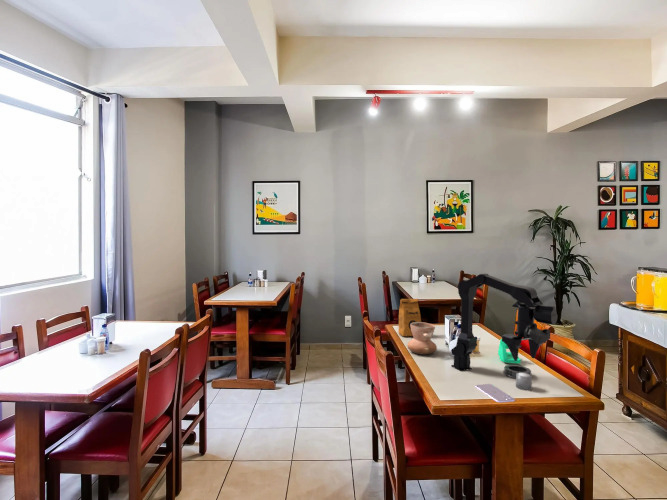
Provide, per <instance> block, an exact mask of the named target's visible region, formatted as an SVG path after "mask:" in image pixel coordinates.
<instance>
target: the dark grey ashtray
mask: <svg viewBox="0 0 667 500" xmlns="http://www.w3.org/2000/svg"><path fill="white" fill-rule="evenodd" d="M502 371H503V372H502V373H503V375H504V376H506V377H507V378H511V379H515V380H516V374H517V373H527V374H530V375H531V376H532V377H533V375H532V370H531V369H530V368H528V367H526V366H523V365H518V364H507V365H505V366H504V370H502Z"/></svg>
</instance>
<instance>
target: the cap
mask: <svg viewBox="0 0 667 500" xmlns="http://www.w3.org/2000/svg"><path fill="white" fill-rule="evenodd" d="M531 375H532V374H531ZM531 375H530V374H527V373H517V374H516V379H515V387H516V389H519V390H522V391H527V390H528V391H531V390H532V387H533V386H532V383H533V382H532V381H533V379H532V378H533V375H532V376H531Z"/></svg>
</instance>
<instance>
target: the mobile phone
mask: <svg viewBox="0 0 667 500" xmlns="http://www.w3.org/2000/svg"><path fill="white" fill-rule="evenodd" d="M474 387H475V388H476V389H477V390H479V391H480V392H482V394H485V395H486V396H488V397H489V398H490V399H491V400H493V401H495V402H497V403H510V402H511V403H512V402H515V401H516V400H515V398H514V397H512V396H511V395H509V394H507V393H506V392H505V391H503V390H501V389H500V388H498V387H497V386H495V385H494V384H491V383H485V384H475V386H474Z"/></svg>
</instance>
